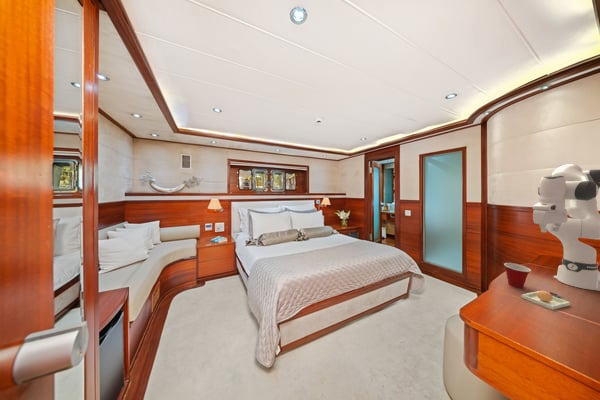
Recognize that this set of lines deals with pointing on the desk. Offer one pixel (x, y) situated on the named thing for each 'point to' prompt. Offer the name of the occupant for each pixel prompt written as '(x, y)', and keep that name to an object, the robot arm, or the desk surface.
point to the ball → (544, 296)
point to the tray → (552, 305)
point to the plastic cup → (516, 274)
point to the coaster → (556, 295)
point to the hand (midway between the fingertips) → (550, 231)
